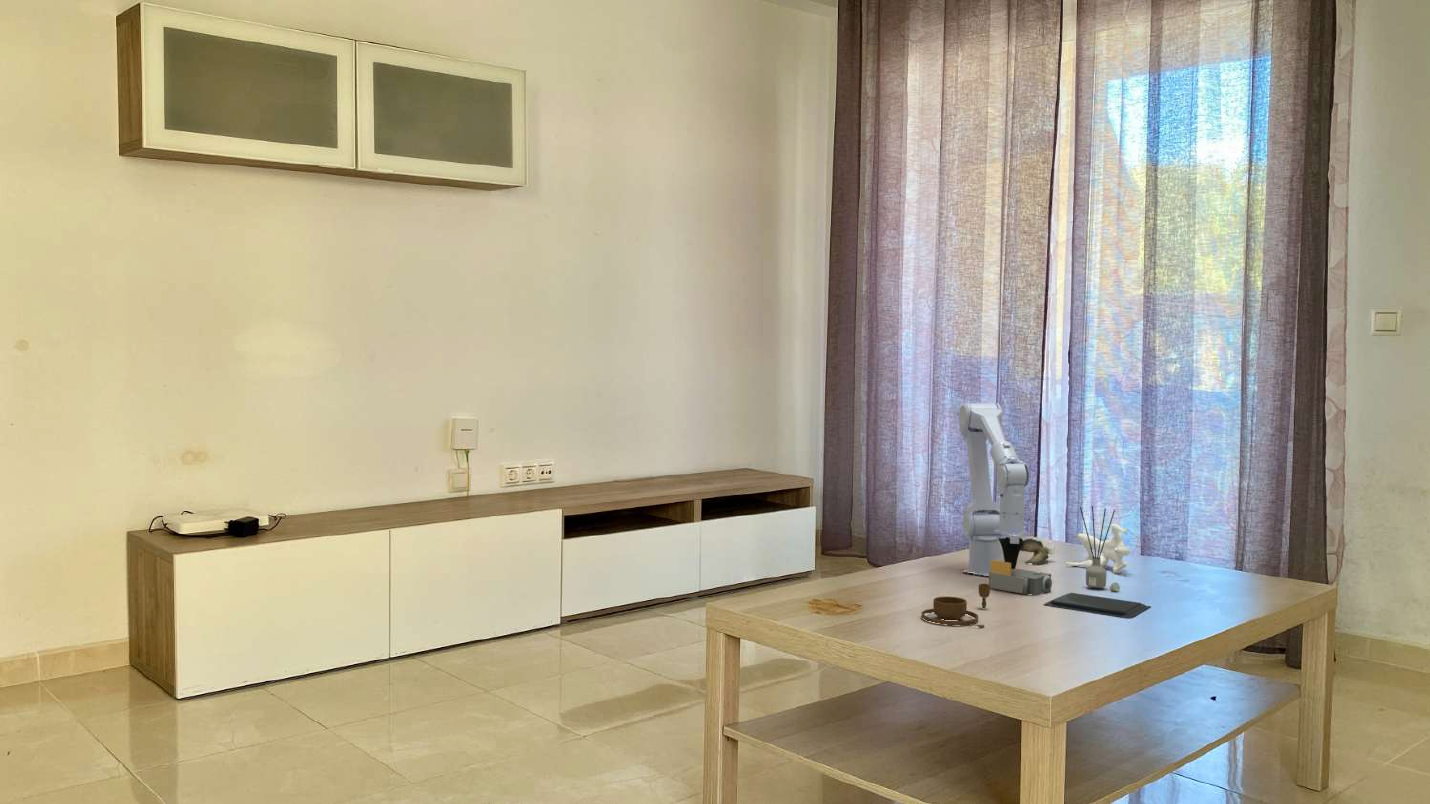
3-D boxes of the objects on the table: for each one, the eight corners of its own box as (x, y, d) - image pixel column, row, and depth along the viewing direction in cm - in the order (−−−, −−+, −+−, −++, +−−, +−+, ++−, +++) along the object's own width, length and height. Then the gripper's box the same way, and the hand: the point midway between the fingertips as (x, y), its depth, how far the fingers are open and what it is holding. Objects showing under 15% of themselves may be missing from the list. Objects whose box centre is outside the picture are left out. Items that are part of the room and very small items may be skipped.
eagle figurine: (1027, 553, 309) (1011, 551, 302) (1042, 534, 307) (1027, 531, 300) (1047, 572, 304) (1031, 570, 297) (1062, 552, 302) (1047, 550, 295)
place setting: (904, 614, 243) (905, 588, 243) (984, 608, 249) (985, 582, 249) (945, 634, 227) (945, 605, 226) (1029, 627, 233) (1030, 599, 233)
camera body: (1005, 582, 275) (1005, 564, 274) (1053, 591, 266) (1054, 572, 266) (989, 587, 269) (989, 569, 268) (1037, 596, 260) (1038, 577, 260)
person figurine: (1060, 525, 298) (1125, 521, 286) (1081, 531, 307) (1146, 527, 294) (1062, 574, 295) (1128, 572, 282) (1083, 578, 304) (1149, 576, 291)
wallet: (1040, 599, 251) (1067, 588, 263) (1040, 608, 251) (1067, 596, 263) (1129, 614, 238) (1153, 602, 250) (1129, 622, 238) (1153, 610, 250)
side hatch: (992, 587, 268) (992, 559, 267) (1028, 593, 261) (1029, 565, 261) (989, 588, 267) (990, 560, 267) (1026, 594, 260) (1026, 566, 260)
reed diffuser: (1074, 587, 270) (1076, 506, 269) (1083, 583, 276) (1085, 503, 275) (1116, 593, 264) (1119, 510, 263) (1125, 588, 270) (1127, 506, 269)
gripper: (991, 507, 276) (990, 562, 277) (997, 516, 262) (996, 573, 262) (1020, 508, 275) (1019, 563, 275) (1028, 517, 260) (1027, 574, 261)
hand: (1010, 568), depth 269 cm, fingers closed
